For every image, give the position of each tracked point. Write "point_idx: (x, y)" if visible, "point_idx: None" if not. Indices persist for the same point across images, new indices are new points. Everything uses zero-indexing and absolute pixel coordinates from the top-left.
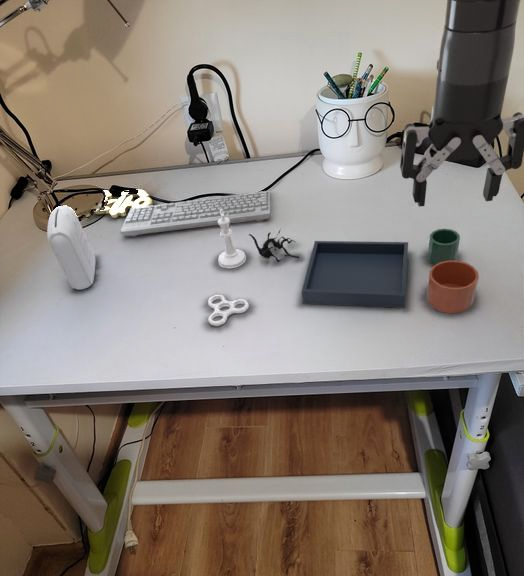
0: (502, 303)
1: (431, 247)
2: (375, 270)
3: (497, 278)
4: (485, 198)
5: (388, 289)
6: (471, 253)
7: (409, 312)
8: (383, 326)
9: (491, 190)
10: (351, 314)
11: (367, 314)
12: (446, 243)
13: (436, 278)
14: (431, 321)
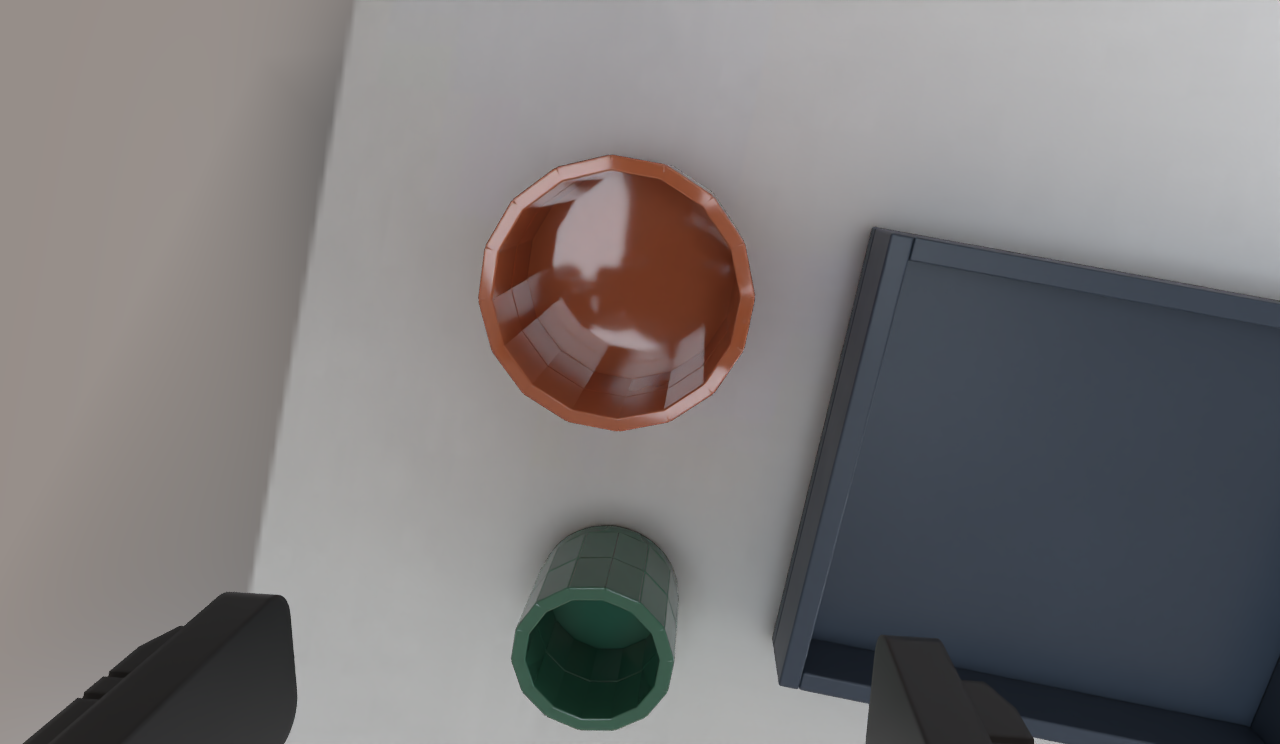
0: (394, 211)
1: (668, 611)
2: (968, 530)
3: (383, 397)
4: (284, 638)
5: (932, 367)
6: (465, 597)
7: (851, 191)
8: (1010, 92)
9: (186, 650)
10: (1163, 207)
11: (1075, 198)
12: (576, 659)
13: (686, 371)
14: (755, 109)
